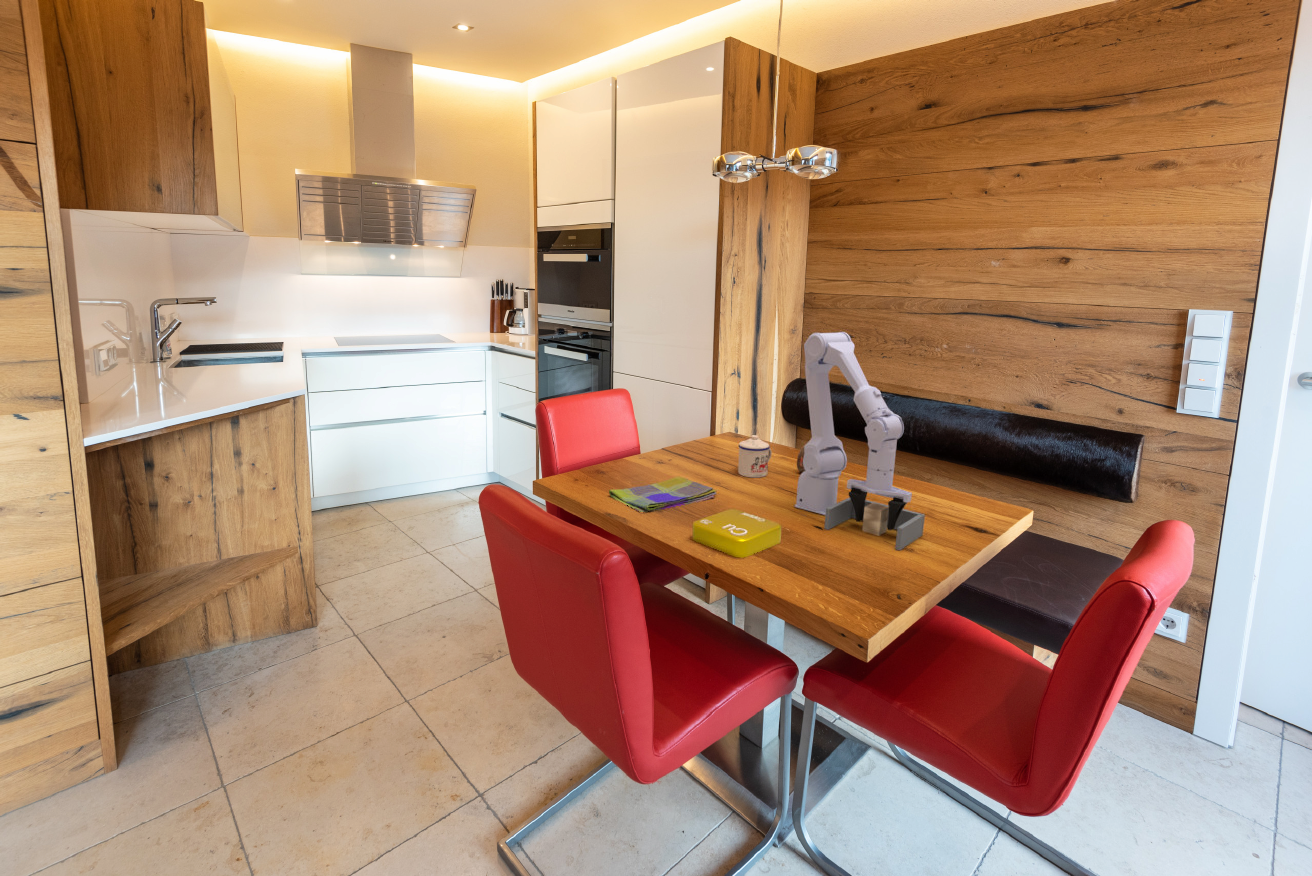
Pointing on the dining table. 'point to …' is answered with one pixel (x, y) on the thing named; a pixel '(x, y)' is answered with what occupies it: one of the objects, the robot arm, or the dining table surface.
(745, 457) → the teacup with lid
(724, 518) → the element tile
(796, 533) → the dining table surface
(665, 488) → the dish towel
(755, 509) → the dining table surface
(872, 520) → the birch block
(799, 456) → the tin
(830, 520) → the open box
